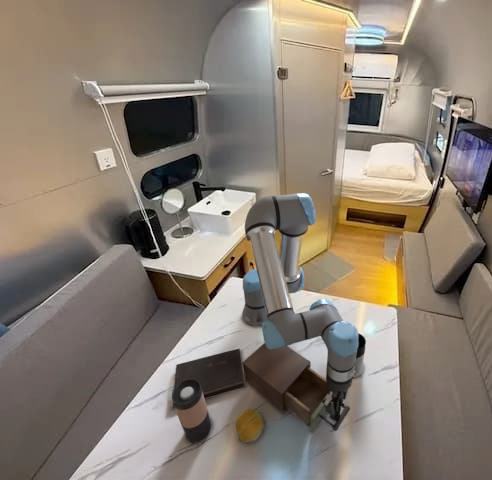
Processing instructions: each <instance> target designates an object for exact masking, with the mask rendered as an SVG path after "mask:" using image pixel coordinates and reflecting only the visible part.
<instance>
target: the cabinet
mask: <svg viewBox="0 0 492 480" xmlns="http://www.w3.org/2000/svg"><path fill="white" fill-rule="evenodd" d="M311 362H312V361H310V360H309V359H308V358H306V357H304V356H303V355H301V354H300V353H299V352H297V351H296V350H294V349H293V348H291V347H290V346H289V345H288V346H286V347H280V348H276V349H271V350H270V349H268V348H267V347H266V345H265V342H264V343H262V344H261V345H260V346H259V347H258V348H257V349H256V350H255V351H254V352H252V353H251V354H250V355H249V356H247V358H245V359H244V360H243V361H241V363H242V370H243V377H244V382H246V383H247V384H248V385H250V386H251V387H252V388H253V389H254V390H255V391H257V392H258V393H259V394H260V395H261V396H263V397H264V398H265V399H266V400H267V401H268V402H270V404H272V405H273V406H274V407H276V408H277V409H278V410H279V411H280V412H282V413H284V412H285V411H286V410H287V408H286V407H285V406H284V393H285V392H286V391H287V390H288V389H289V387H290V386H291V385H292V384H293V383H294V382H295V381H296V379H297V378H298V377H299V376H300V375H301V374H302V373H303V371H304V370H305V369H306V368H307V367H309V368H311V366H312V365H311Z"/></svg>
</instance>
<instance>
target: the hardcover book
mask: <svg viewBox="0 0 492 480" xmlns="http://www.w3.org/2000/svg"><path fill="white" fill-rule="evenodd" d="M175 365H176V366H175V374H174V384H173V385H174V386H173V390H174V389H176V388H177V387H178V386H179V385H180V384H181V382H183V381H185V380H188V379H194V380H197V381H198V382H199V383H200V385H201V389H202V392H203V395H204V398H205V400H206V399H209V398H212V397H215V396H219V395H222V394H225V393H229V392H232V391H235V390H238V389H242V388H245V387H246V386H245V376H244V370H243V364H242V356H241V349H240V348H235V349H232V350H228V351H223V352H220V353H216V354H212V355H208V356H204V357H200V358H196V359H193V360H189V361H185V362H182V363H177V364H175ZM172 407H173V409H175V407H174V404H173V403H172Z"/></svg>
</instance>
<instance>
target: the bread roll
mask: <svg viewBox="0 0 492 480" xmlns="http://www.w3.org/2000/svg"><path fill="white" fill-rule="evenodd" d="M234 423H235V424H234V428H235V432H236V434H238V436H239V440H240V441H241V442H243V443H250V442H254V441H257V440H258V438H260V436H261V434H263V433H262V432H263V431H264V425H265V424H264V418H263V416H262V414H261V413H260V412H259V411H258V410H256V409H252V408H251V409H248V410H246V411H243V412H241V414H239V415H238V416H237V418H236V421H235V422H234Z"/></svg>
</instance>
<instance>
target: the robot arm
mask: <svg viewBox="0 0 492 480" xmlns="http://www.w3.org/2000/svg"><path fill="white" fill-rule="evenodd" d="M316 221H317V215H316V209H315V205H314V202H313V199H312V197H311V196H310V195H309V194H308V193H304V192H303V193H298V192H296V193H292V194H290V193H289V194H282V195H281V194H279V195H268V196H264V197H261V198H259V199H257V201H255V202H254V203H253V204H252V205H251V207H250V208H249V210H248V212H247V214H246V217H245V220H244V233H245V234H244V235H245V238H246V240H247V241H248V242H250V246H251V250H252V255H253V259H254V264H255V268H253V269H251V270H249V271H247V272H246V274H244V276H243V278H242V290H243V296H244V297H243V298H244V306H243V310H242V319H243V322H244V323H245V324H247V325H248V326H251V327H261V332H262V337H263V341H264V343H265V345H266V347H267V348H268V349H270V350H271V349H276V348H280V347H286V346H288V347H289V346H292V345H295V344H297V343H301V342H304V341H308V340H313V339H315V338H319V337H320V338H321V339H322V341H323V344H324V345H325V347H326V349H327V356H326V368H325V369H326V370H325V371H326V372H325V379H326V382H327V384H328V386H329V390H328V395H329V396H328V398H327V397H326V398H324V399H323V401H322V403H323V404H324V405H325V409H326V412H327V415H329V419H331V420H332V421H333V422H334V423H335V422H336V421H337V419H338V418H339V416H340V415H341V413H342V408H344V405H345V406H346V404H345V403H344V401H345V400H346V399H347V395H348V391H349V389H350V387H352V385H353V380H354V377H353V374H354V373H355V370H354V366H355V360H356V354H357V349H358V344H359V342H358V337H359V334H360V333H359V331H358V328H357V327H356V326H355V325H354V324H351V322H350V321H346V320H345V321H344V319H343V318H342V316H341V314H340V312H339V311H338V309H337V308H336V306H335V305H334V303H332V301H331V300H329V299H327V298H320V299H317V300H316V301H315V302H313V303H311V305H310V306H309V310H306V311H305V310H304V311H302V312H298V313H295V311H294V305H293V303H292V298H291V295H290V294H297V292H301V291H302V290H303V288H304V286H305V273H304V271H303V269H302V267H301V266H299V264H300V260H301V259H300V258H301V251H302V244H303V238H304V236H305V235H306V234H307V232H308V230H309V226H313V225H315V224H316ZM277 231H278V232H279V233H280V234H279V235H280V236H279V250H278V246H277V243H276V239H275V236H276V234H277ZM358 333H359V334H358Z"/></svg>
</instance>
